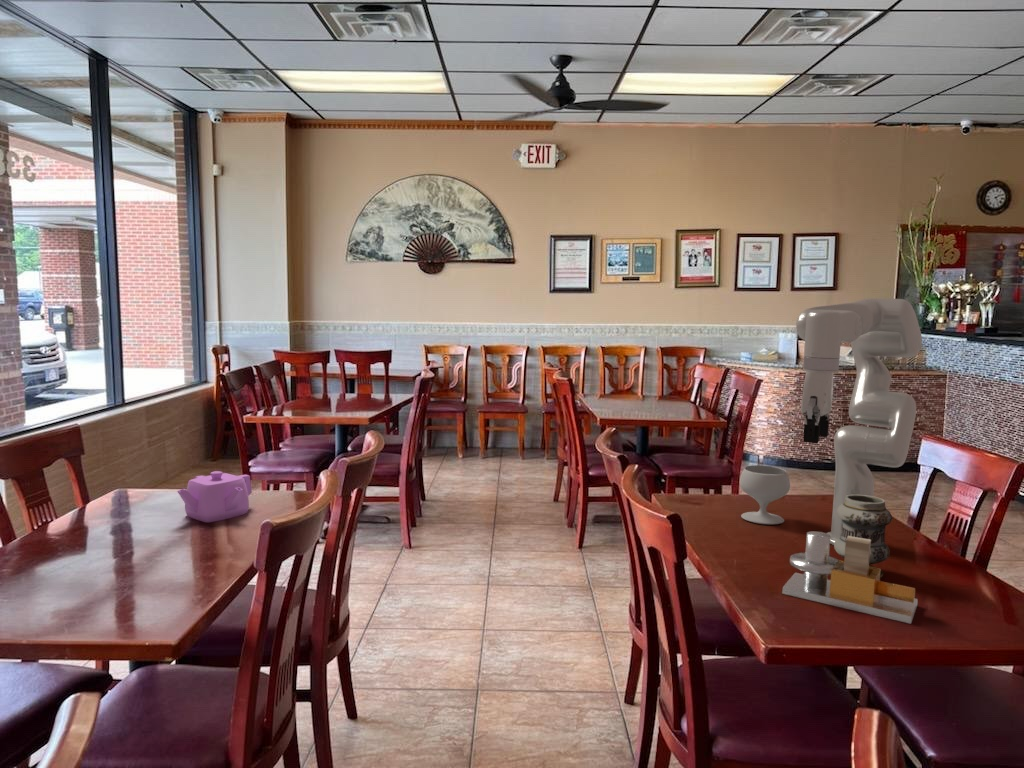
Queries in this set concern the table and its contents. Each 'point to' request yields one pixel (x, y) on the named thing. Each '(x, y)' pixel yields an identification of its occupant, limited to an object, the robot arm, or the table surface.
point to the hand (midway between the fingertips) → (815, 439)
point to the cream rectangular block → (857, 555)
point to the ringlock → (846, 584)
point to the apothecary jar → (864, 525)
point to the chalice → (764, 490)
